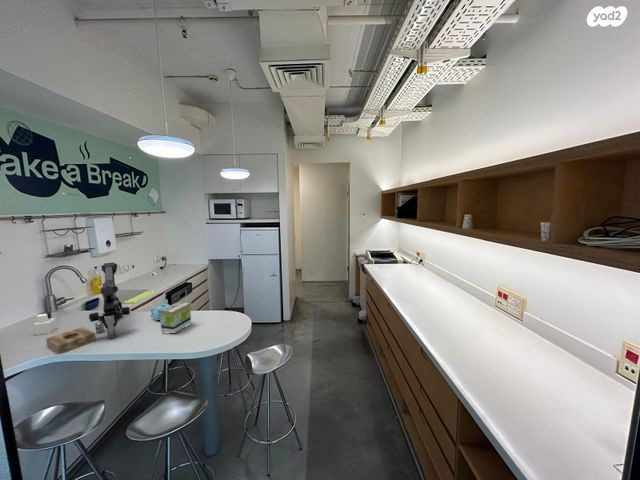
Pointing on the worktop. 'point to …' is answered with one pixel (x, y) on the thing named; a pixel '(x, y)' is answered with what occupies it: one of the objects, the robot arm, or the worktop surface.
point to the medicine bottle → (44, 324)
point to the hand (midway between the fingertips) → (110, 327)
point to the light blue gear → (158, 310)
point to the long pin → (110, 326)
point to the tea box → (175, 317)
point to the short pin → (99, 327)
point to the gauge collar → (70, 340)
